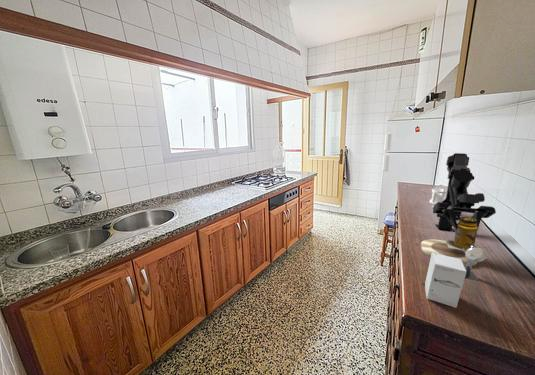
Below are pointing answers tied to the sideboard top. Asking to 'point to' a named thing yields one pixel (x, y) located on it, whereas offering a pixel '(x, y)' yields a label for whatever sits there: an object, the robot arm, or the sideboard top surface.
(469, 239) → the condiment
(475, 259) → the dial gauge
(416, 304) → the sideboard top surface
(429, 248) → the ring
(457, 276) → the supplement box
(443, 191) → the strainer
